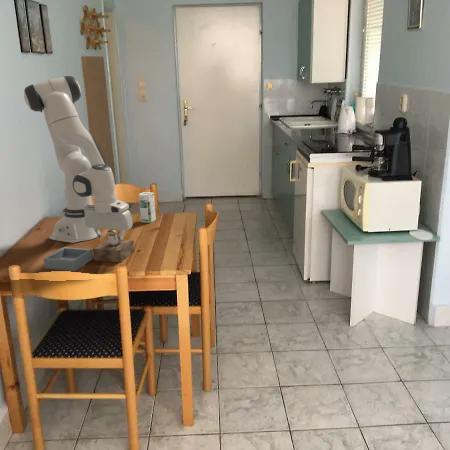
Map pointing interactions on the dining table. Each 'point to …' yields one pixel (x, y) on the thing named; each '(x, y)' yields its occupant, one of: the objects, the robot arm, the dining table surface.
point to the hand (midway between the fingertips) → (110, 238)
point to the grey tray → (68, 259)
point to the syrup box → (147, 207)
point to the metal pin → (112, 238)
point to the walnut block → (113, 251)
